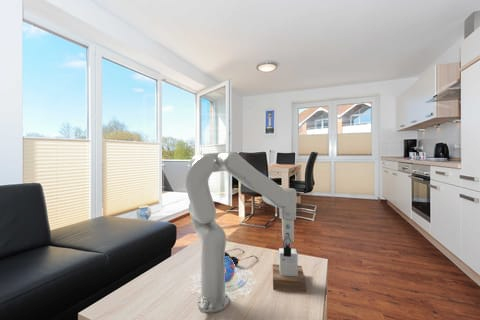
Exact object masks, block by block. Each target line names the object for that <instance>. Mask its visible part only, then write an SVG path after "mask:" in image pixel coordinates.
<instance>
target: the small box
mask: <svg viewBox="0 0 480 320" xmlns="http://www.w3.org/2000/svg"><path fill="white" fill-rule="evenodd" d="M278 259H279V260H278V261H279V263H278V265H279V270H280V276H298V266H299V265H298V259H299V258H298V252H297V249H296V248H291V257H286V256H284V247H283V248H282V247H281V248H280V247H279V249H278Z"/></svg>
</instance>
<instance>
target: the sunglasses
mask: <svg viewBox="0 0 480 320" xmlns="http://www.w3.org/2000/svg"><path fill="white" fill-rule="evenodd" d="M236 250H237V248H233V249H229V250H225V256H229V257H230V258H231V259H232V260H233V262H234V264H235V266H234V267H236V268H237V266H238V264H239V261H242V260H246V259H249V258H253V257H254V258H255V259H258V257H257V256H256V255H251V256H248V257H244V258H240V259H239V258H237V257H236V256H231V255H230V254H229V253H228V252H232V251H236ZM238 250H240V251H242V253H245V251H244V250H243V249H241V248H238ZM231 259H230V260H231Z"/></svg>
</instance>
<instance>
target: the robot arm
mask: <svg viewBox="0 0 480 320" xmlns="http://www.w3.org/2000/svg"><path fill="white" fill-rule="evenodd" d="M223 171H224V172H227V173H228V174H229V175H231V176H232V177H233V178H234V179H236V180H237V181H238V182H240V184H242V185H243V186H244V187H246V188H247V189H249V190H251V191H253V192H255V193H257V194H260V195H261V198H262V200H263V202H264V203H266V204H268V205H269V206H270V205H271V206H272V207H276V208H278V209H279V219H280V220H281V235H282V241H283V248H284V256H286V257H291V249H292V244H291V243H294V242H295V220H297V190H296V189H295V188H292V187H291V188H290V187H281V185H279V184H278V183H277V182H275V181H274V180H273V179H271V178H270V177H268V176H266V175H265V174H264V173H262V172H260V171H259V170H258V169H256V168H255V167H254V166H253V165H251V164H250V163H249V162H248V161H247V160H246V159H244V158H243V157H242V156H241V155H240V154H239V153H237V152H234V151H222V152H212V153H211V152H210V153H197V154H195V155H194V156H192V157H191V159H190V161H189V169H188V170H187V174H186V177H185V188H186V192H187V196H188V199H189V204H188V212H189V216H190V219H191V222H192V225H193V228H194V231H195V233H196V236H197V237H198V239H199V240H200V242H201V252H200V273H201V275H200V276H201V277H200V279H201V281H200V283H201V284H200V286H201V287H200V288H201V291H200V292H201V293H200V294H201V295H199V296H198V299H197V306H198V308H199V312H200V313H202V314H204V313H205V312H206V313H217V312H221V311H223V310H224V309H226V308H227V307H228V305H229V303H230V297H229V294H227V293H226V261H225V251H226V245H227V236H226V235H227V234H226V232H225V230H224V228H223V227H221V225H220V224H219V223H217V222H216V219H215V218H216V216H217V209H216V206H215V202H214V200H213V197H212V194H211V191H210V185H209V180H210V177H211V175H212V174H213V173H219V172H223Z"/></svg>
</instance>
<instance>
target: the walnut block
mask: <svg viewBox="0 0 480 320" xmlns="http://www.w3.org/2000/svg"><path fill="white" fill-rule="evenodd" d="M272 290H273V291H287V292H288V291H289V292H301V293H302V292H303V293H306V292H307V281H306V277H305V273H304V270H303V267H302V265H298V276H280V270H279V264H276V263H275V264H272Z"/></svg>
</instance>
